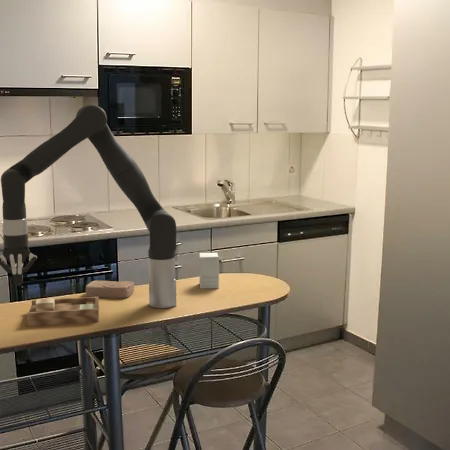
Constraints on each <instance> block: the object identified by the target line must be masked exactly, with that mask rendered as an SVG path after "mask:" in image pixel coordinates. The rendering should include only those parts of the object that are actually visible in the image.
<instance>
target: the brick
mask: <svg viewBox="0 0 450 450" xmlns="http://www.w3.org/2000/svg"><path fill="white" fill-rule="evenodd" d="M134 291H135V282H134V281H127V280H125V281H123V280H121V281H114V280H113V281H111V280H93V281H90V282H89V283H88V284H86V285H85V297H98V298H113V299H125V298H128V297H130V296H131V295H133V293H134Z"/></svg>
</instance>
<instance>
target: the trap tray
mask: <svg viewBox="0 0 450 450" xmlns="http://www.w3.org/2000/svg"><path fill="white" fill-rule="evenodd" d="M53 299H54V301H55V308H54V311H42V312H36V301H37V299H32V300H31V305H30V309H29V310H28V312H26V321H27V327H34V326H35V327H36V326H53V325H66V324H86V323H97V322H98V323H99V319H100V318H99V317H100V313H99V312H100V311H99V310H100V304H99V303H100V300H99V297H91V296H82V297H66V298H53Z"/></svg>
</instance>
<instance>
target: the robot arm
mask: <svg viewBox="0 0 450 450" xmlns="http://www.w3.org/2000/svg"><path fill="white" fill-rule="evenodd" d="M107 116H108V115H107V114H106V111H105V110H104V109H103V108H102V107H100V106H98V105H95V104H87V105H84V106H82V107H80V108H79V109H78V111H77V112H76V115H75V118H74V119H73V120H72V121H71V122H70V123H69V124H68V125H67V126H66V127H64V128H63V129H62V130H60V131H59V132H58V133H56V134H54V135H53V136H51V137H50V138H48V139H47V140H45V141H44V142H43V143H41V144H40V145H38V146H37V147H35V148H34V149H33V150H31V151H30V152H29V153H28V154H27V155H25V157H24V158H23V159H21V160H19V161H18V162H16V163H14V164H13V165H11V166H10V167H9V168H8V169H6V170H5V171H4V172H3V173H2V175H1V177H0V184H1V185H0V186H1V187H0V188H1V197H2V239H3V250H2V251H1V252H2V254H1V255H0V266H1V268H3V270H4V271H5V272H6V273H7V274H12V282H13V285H15V286H21V285H22V284H23V282H24V276H23V275H24V273H27V272H28V271H29V270H30V269H31V267H33V264H34V263H35V262H36V261H37V259H38V256H37V255H35V254H33V253H32V252H31V249H30V247H29V246H30V245H29V233H28V232H29V229H28V222H27V208H26V207H27V206H26V184H27V183H28V182H29V181H30V180H32V179H33V178H35V177H36V176H38V175H39V176H40V174H42V173H43V172H44V171H46V170H48V169H49V168H50V167H51V166H52V165H53V164H54V163H56V162H57V161H58V160H60V158H62V157H63V156H64V155H65V154H66V153H68V152H69V151H70V150H72V149H73V148H74V147H76V146H77V145H78V144H80V143H82V142H83V141H85V140H86V139H88V140H89V142H90V143H91V144H92V145H93V147H94V148H95V150H96V151H97V153H98V154H99V156H100V158H101V160H102V162H103V164H104V165H105V167H106V169H107V170H108V172H109V174H110V175H111V177H112V179H113V180H114V181H115V183H116V185H117V186H118V187H119V188H120V190H121V191H122V192H123V194H124V195H125V196H126V197H127V198H128V200H129V201H130V202H131V203H132V205H134V207H135V208H136V210H137V211H138V213H139V215H140V217H141V219H142V220H143V223H144V225H145V226H146V229H147V231H148V232H149V248H148V251H147V252H148V253H147V255H148V260H147V261H148V297H149V298H148V301H149V306H150V307H152V308H155V309H167V308H168V309H169V308H172V307H177V279H176V250H177V222H176V219H175V217H173V216H172V215H171V214H170V213H168V212H167V211H166V210H165V208H164V207H162V205H161V204H160V203H159V201H158V200H157V199H156V197H155V196H154V194H153V191H152V190H151V187H150V186H149V183H148V181H147V178H146V176H145V175H144V173H143V171H142V169H141V168H140V167H139V164H138V163H137V162H136V161H135V159H134V158H133V156H132V155H131V154H130V152H128V150H127V149H126V148H125V147H124V146H123V145H122V144H121V143H120V142H119V141H118V140H117V138H116V137H115V135H114V134H113V132H112V131H111V128H110V127H109V125H108V117H107ZM27 259H28V261H29V262H28V263H27V264H26V265H25V267H23V266H24V263H25V262H26V260H27ZM6 260H7V262H8V263H10V265H9V264H8V263H7V262H6Z"/></svg>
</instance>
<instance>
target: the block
mask: <svg viewBox="0 0 450 450" xmlns="http://www.w3.org/2000/svg"><path fill="white" fill-rule="evenodd" d="M54 299H55V298H42V299H41V298H40V299H39V298H38V299H37V298H36V300H37V301H36V312H42V311H54V308H55V301H54Z"/></svg>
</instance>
